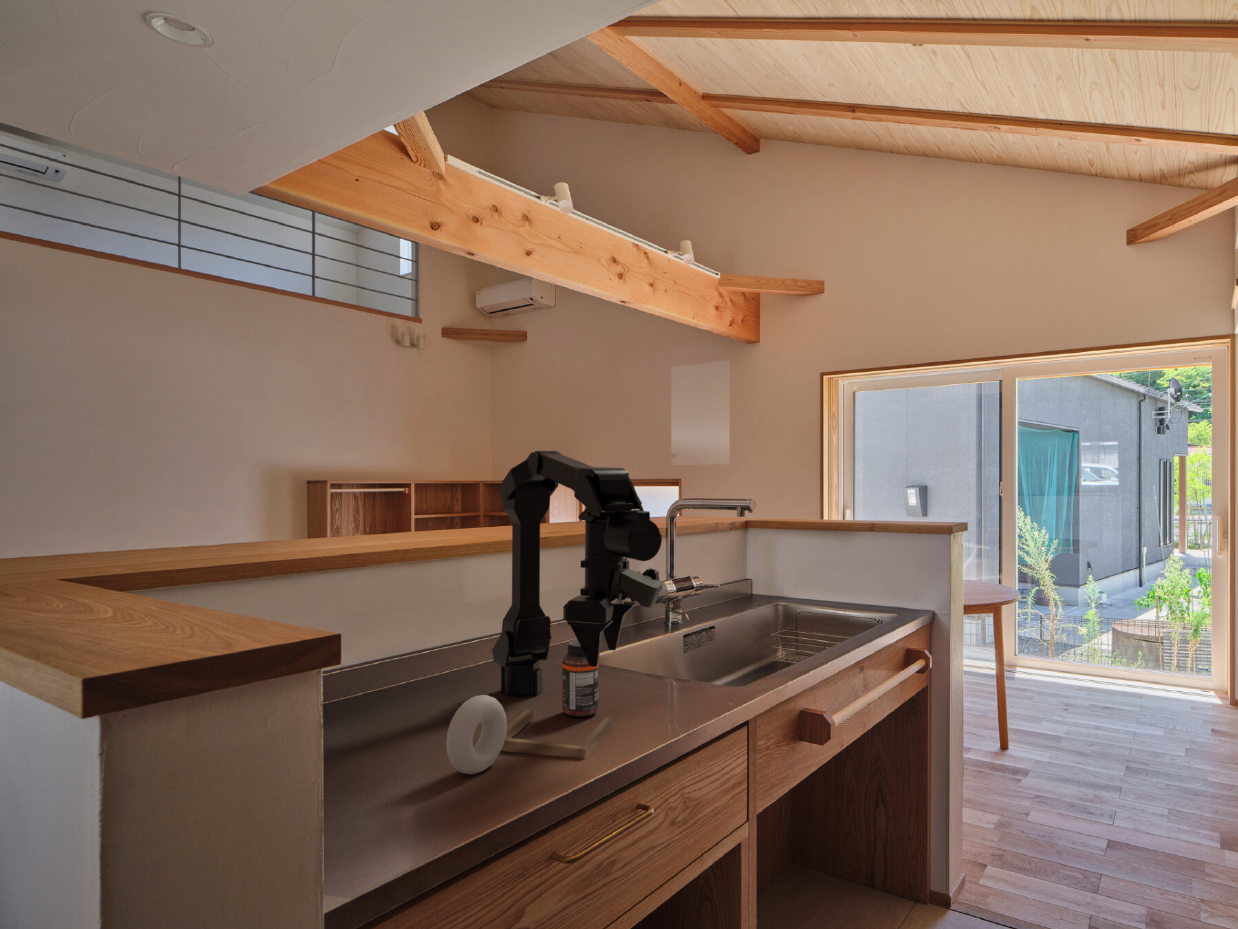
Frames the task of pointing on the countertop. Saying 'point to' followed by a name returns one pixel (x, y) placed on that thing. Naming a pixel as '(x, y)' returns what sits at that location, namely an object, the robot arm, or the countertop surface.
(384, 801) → the countertop surface
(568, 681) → the supplement bottle
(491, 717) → the donut
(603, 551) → the robot arm
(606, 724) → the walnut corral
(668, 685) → the countertop surface
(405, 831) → the countertop surface
